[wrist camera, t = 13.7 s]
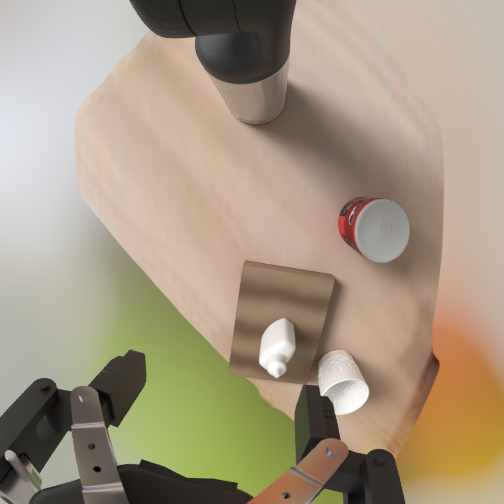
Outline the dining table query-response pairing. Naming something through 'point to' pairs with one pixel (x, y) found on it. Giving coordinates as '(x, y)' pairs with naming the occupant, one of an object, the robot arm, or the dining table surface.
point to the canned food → (375, 228)
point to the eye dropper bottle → (277, 347)
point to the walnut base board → (279, 317)
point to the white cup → (342, 382)
